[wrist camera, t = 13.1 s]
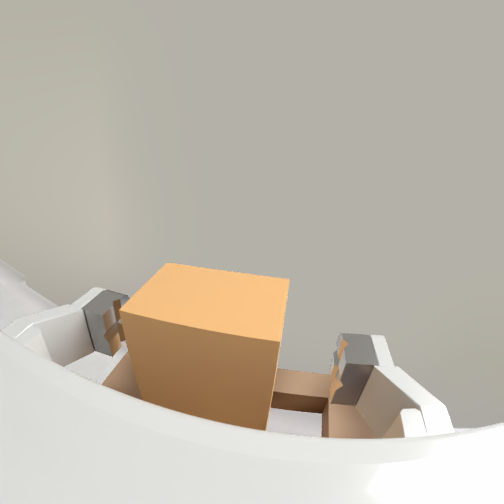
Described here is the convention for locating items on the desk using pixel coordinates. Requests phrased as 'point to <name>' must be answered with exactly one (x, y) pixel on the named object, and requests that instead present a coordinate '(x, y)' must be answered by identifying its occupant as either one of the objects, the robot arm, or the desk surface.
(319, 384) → the tan rectangular frame
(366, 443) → the robot arm
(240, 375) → the tall tan upright block
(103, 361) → the desk surface
